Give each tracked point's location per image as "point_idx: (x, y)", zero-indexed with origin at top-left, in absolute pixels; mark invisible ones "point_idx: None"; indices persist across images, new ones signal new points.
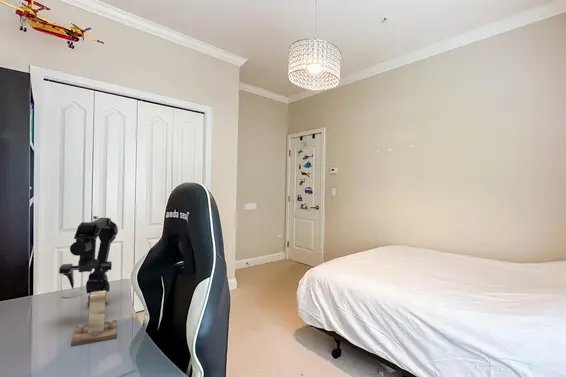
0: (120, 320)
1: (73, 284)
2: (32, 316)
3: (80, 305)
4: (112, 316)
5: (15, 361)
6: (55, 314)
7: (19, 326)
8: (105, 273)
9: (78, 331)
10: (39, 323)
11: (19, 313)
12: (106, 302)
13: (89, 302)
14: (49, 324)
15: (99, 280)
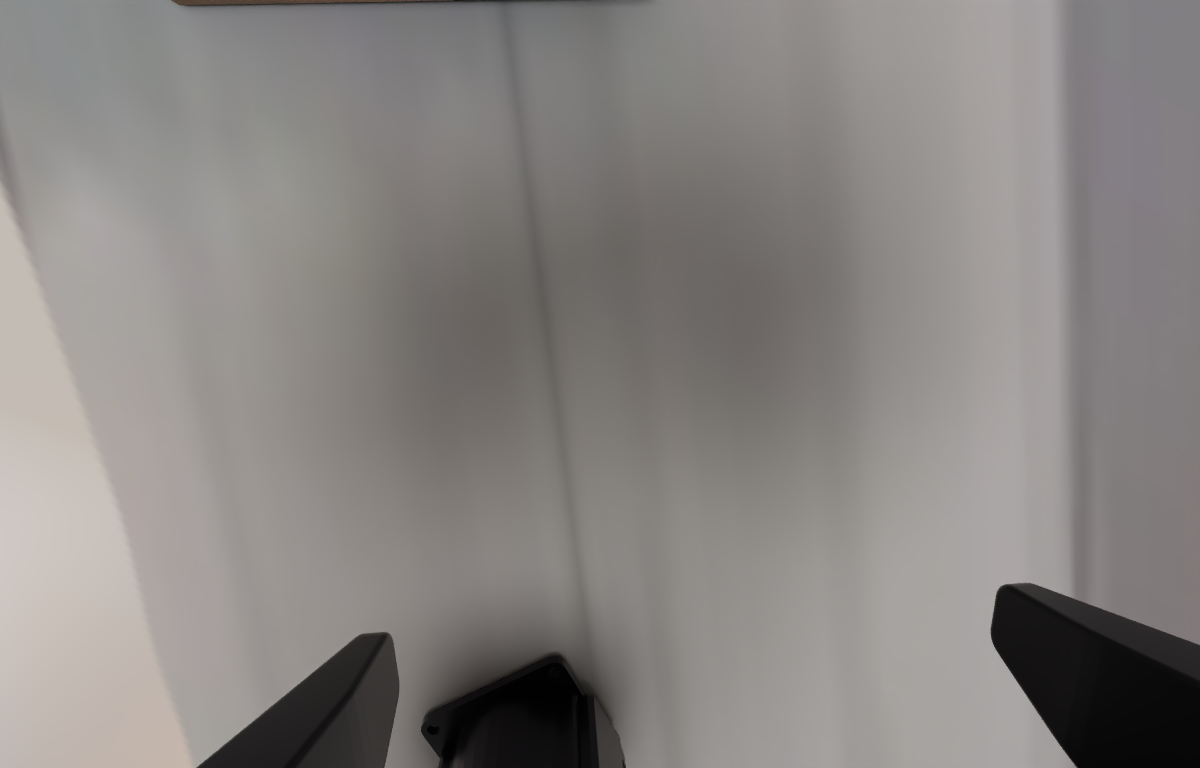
0: (158, 128)
1: (1085, 688)
2: (1072, 590)
3: (688, 752)
4: (293, 314)
5: None
6: (890, 579)
7: (1167, 367)
8: None
9: None
10: (1012, 381)
11: None
12: (433, 747)
13: (604, 733)
14: (927, 316)
15: (240, 763)
